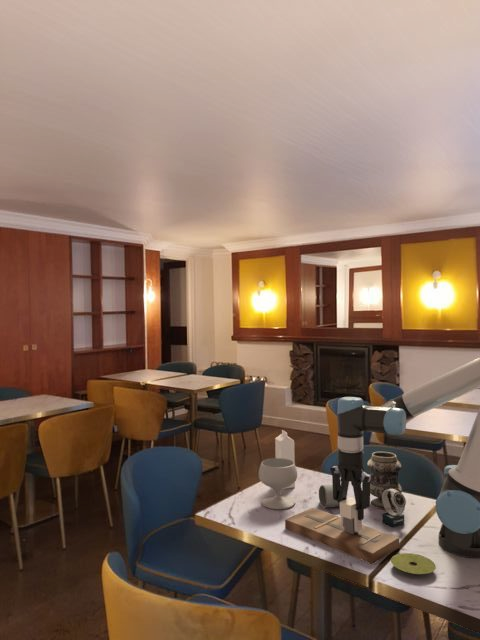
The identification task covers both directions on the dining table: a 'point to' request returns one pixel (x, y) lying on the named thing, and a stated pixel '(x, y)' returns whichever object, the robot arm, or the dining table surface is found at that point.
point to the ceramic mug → (327, 496)
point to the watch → (391, 516)
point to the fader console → (342, 535)
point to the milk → (285, 449)
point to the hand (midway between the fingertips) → (351, 527)
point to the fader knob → (348, 514)
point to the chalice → (278, 481)
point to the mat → (413, 563)
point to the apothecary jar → (383, 476)
